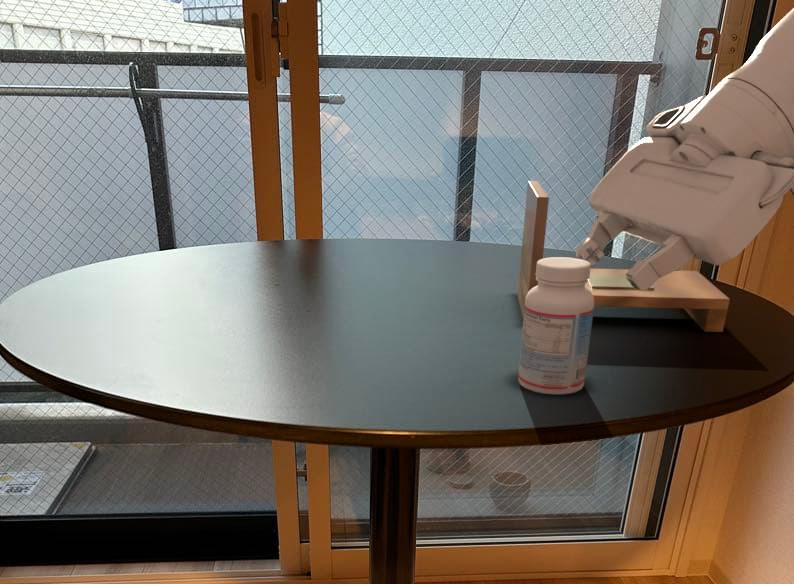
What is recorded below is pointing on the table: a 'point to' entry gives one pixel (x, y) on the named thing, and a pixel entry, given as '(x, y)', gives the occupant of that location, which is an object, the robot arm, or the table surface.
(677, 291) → the shelf
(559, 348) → the pill bottle
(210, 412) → the table surface
